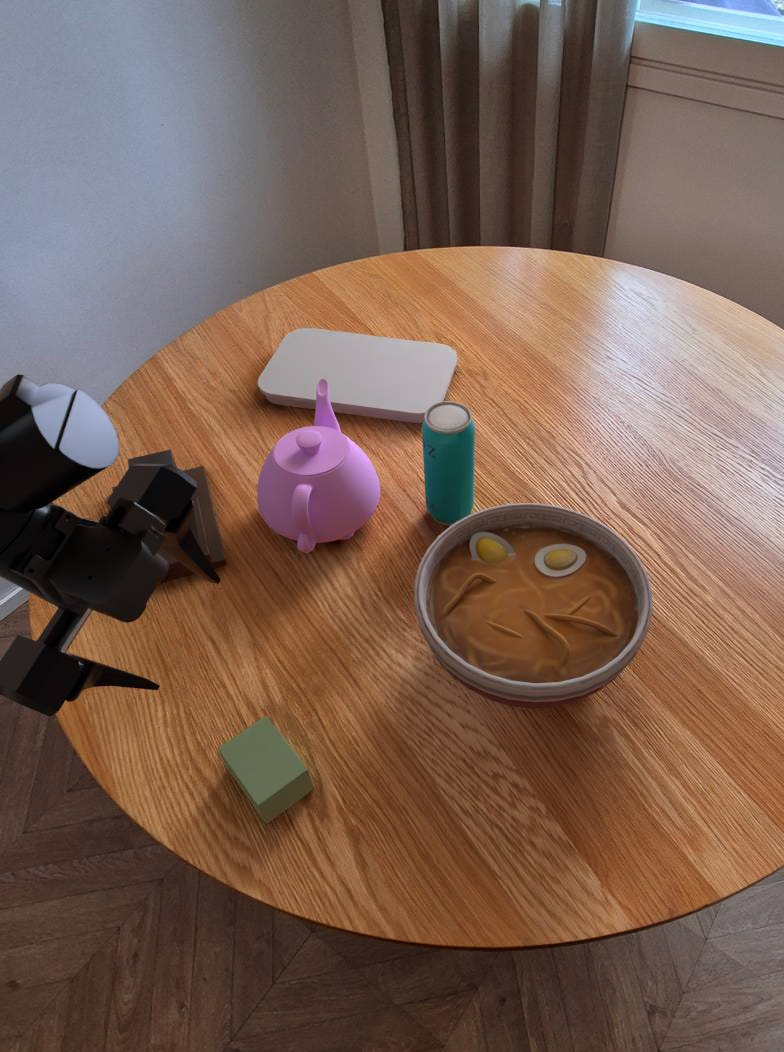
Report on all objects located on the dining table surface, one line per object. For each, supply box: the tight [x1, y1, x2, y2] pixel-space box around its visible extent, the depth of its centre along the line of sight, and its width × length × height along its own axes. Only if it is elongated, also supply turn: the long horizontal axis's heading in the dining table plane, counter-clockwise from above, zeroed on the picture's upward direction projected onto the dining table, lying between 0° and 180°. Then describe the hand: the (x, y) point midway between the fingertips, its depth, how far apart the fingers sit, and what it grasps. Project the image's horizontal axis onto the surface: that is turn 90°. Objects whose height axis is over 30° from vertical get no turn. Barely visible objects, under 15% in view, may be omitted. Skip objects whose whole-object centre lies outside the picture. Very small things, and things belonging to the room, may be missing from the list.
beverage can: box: [421, 400, 476, 527], centre depth 90 cm, size 6×6×15 cm
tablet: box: [257, 327, 459, 424], centre depth 112 cm, size 16×26×2 cm, turn 79°
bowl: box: [413, 502, 654, 710], centre depth 79 cm, size 23×23×10 cm
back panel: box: [111, 449, 228, 584], centre depth 91 cm, size 11×17×5 cm, turn 21°
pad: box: [217, 715, 315, 825], centre depth 71 cm, size 5×7×4 cm
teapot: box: [256, 379, 381, 554], centre depth 91 cm, size 20×14×12 cm
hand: (187, 632), depth 62 cm, fingers open, 9 cm apart
